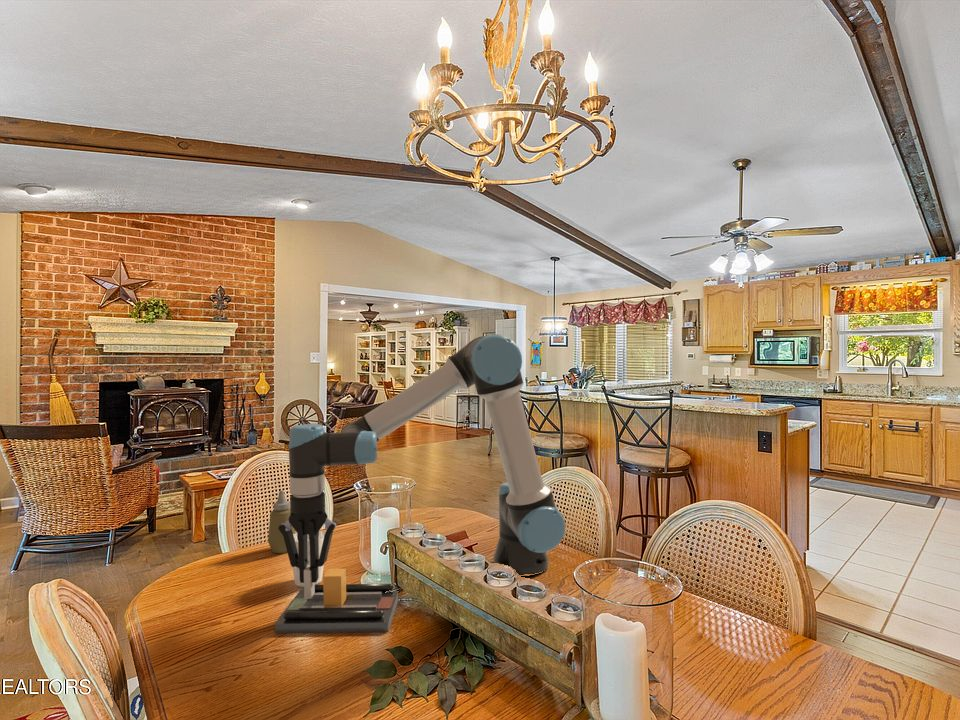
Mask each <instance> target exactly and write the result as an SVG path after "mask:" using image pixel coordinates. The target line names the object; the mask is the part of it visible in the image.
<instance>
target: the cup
mask: <svg viewBox="0 0 960 720" xmlns="http://www.w3.org/2000/svg"><path fill="white" fill-rule="evenodd" d="M325 533H326V531H324V530H321V529H320V530H319V536H318V540H319V558H320V553H321V549H322V544H323V540H324V535H325ZM293 536H294V539H295V543H296V547H297V551H298V539H297V532H296V533H295V534H293ZM307 551H308V561H309V562H308V564H307V565H310V540H309V535H307ZM298 555H299V554H298ZM324 566H325V564H324V565H323V566H319V567H318V574H319V578H318V580H317V581H316V582H315V585H319V583H321V582H322V581H323V576H324V575H323V573H324ZM291 568H292V573H293V579H294V584H295V586H298V587H300V588H304V583H301V582H300V570H299V568H298V567H292V566H291Z"/></svg>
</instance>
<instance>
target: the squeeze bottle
mask: <svg viewBox="0 0 960 720" xmlns="http://www.w3.org/2000/svg"><path fill="white" fill-rule="evenodd" d="M290 514H291V512H290V500H287V498H286V494H285V492H284V490H279V491H278V497H277V501H276V502H274V503H273V510H272V511H270V513H269V525H268V526H269V527H268V537H267V543H268V545H269V548H270V550H271V552H272V553H274V554H285V553H287V549H286V545H285V541H284V537H283V535H282V534H281V532H280V531H279V529H278V527H279V526H280V525H281V524H282V523H283V522H286V521H288V519H289V516H290ZM291 526H292V525H291ZM292 532H293V534H295V533H297V532H296V531H295V529H294V528H293V527H292Z"/></svg>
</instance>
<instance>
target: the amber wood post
mask: <svg viewBox="0 0 960 720" xmlns="http://www.w3.org/2000/svg"><path fill="white" fill-rule="evenodd" d="M322 581H323V582H322V583H323V584H322V585H323V591H324V606H330V605H343V604H344V602H345V600H346V584H347V568H328V569H327V570H326V571H325V573H324V575H322Z"/></svg>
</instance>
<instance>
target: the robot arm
mask: <svg viewBox="0 0 960 720" xmlns="http://www.w3.org/2000/svg"><path fill="white" fill-rule="evenodd" d="M522 366H523V355H522V352H521V350H520V348H519V346H518V345H517V343H516V342H514V341H513V340H512V339H510V338H509V337H507V336H505V335H501V334H495V333H492V334H487V335H484V336H478V337H476V338H474V339H472V340H470V341H469V342H468V343H467V344H465V346H463V347H462V348H461V349H459V350H458V351H457V352H455V353H454V354H452V355H450V356H449V357H448V358H446V362H445V364H444V365H443V366H440V367H439V368H437V369H436V370H434V371H433V372H431V373H429V374H428V375H426V376H425V377H423V378H421V379H419V380H418V381H417V382H415V383H413V384H412V385H410V386H408V387H407V388H406V389H404V390H402V391H401V392H399V393H397V394H396V395H395V396H393V397H391V398H390V399H388V400H386V401H385V402H383V403H382V404H380V405H378V406H377V407H375V408H374V409H372V410H370V411H369V412H368V413H366V414H364V415H363V416H362V417H359V418H358V419H356V420H355V421H353V422H350V423H347V424H346V425H345V426H343V427H342V429H341V430H340V432H325V428H324V426H323V424H320V423H318V424H317V423H304V424H298V425H294V426H292V427H291V428H290V430H289V438H288V439H289V442H288V457H289V458H288V461H289V466H288V467H289V494H290V496H289V502H290V512H291V514H290V516H289V519H288V521H286V522H283V523H282V524H281V525H280V526H279V527H278V529H279V531H280V532H281V534H282V535H283V537H284V541H285V545H286V549H287V552H286V553H287V556H288V559H289V564H290V566H291V568H292V567H298V568H299V570H300V582H301V583H304V587H303V588H304V599H311V598H312V596H313V595H314V593H315V582H316V581H317V580H318V578H319V574H318V567H319V566H323V565H324V566H325V563H326V562H327V560H328V556H329V551H330V547H331V543H332V539H333V534H334V531H335V529H336V527H337V526H338V522H337V521H336V520H333V521H332V520H331V519H329V517H328V514H327V512H326V493H325V492H324V491H325V488H326V486H325V483H326V481H325V479H326V478H325V467H332V466H334V467H335V466H352V465H354V466H355V465H360V466H361V465H362V466H363V465H367V464H374V463H376V461H377V460H378V441H380V440H381V439H383V438H385V437H387V436H388V435H389V434H391V433H393V432H394V431H396V430H397V429H399V428H400V427H402V426H404V425H405V424H406V423H408V422H410V421H412V420H413V419H415V418H416V417H418V416H419V415H421V414H422V413H424V412H426V411H427V410H429V409H430V408H432V407H433V406H436V404H438V403H440V402H441V401H443V400H445V399H446V398H448V397H449V396H451V395H452V394H454V393H455V392H457V391H459V390H460V389H463V390H467V389H469V388H470V387H472V386H473V385H474V386H475V390H476V393H477V396H478V397H480V398H482V399H483V400H485V403H486V408H487V411H488V414H489V419H490V421H491V426H492V429H493V433H494V437H495V440H496V441H495V442H496V444H497V445H496V446H497V449H498V452H499V455H500V460H501V463H502V467H503V471H504V474H505V475H504V476H505V478H506V482H503V483H501V484H500V486H499V489H498V494H497V495H498V518H499V519H498V520H499V525H498V526H499V527H498V529H499V533H498V534H499V535H498V536H499V537H498V541H497V544H496V547H495V550H494V554H493V559H492V561H493V562H494V563H499V564H504V565H508V566H511V567H512V568H513V569H515V570H516V572H517V573H518V574H519V575H524V574H535V573H539V572H542V571H544V570H546V569H547V570H548V568H549V558H548V557H549V556H548V554H547V552H549V551H552V550H553V549H556V547H557V546H558V545H559V544H560V543H561V541H562V539H563V538H564V536H565V533H566V521H565V518H564V516H563V514H562V513H561V511H560V510H558V509H557V506H556V502H555V499H554V494H553V490H552V487H550V485H548V484H546V483H545V482H544V481H543V477H542V473H541V468H540V466H539V462H538V457H537V454H536V451H535V447H534V446H535V445H534V442H533V439H532V438H533V437H532V435H531V432H530V427H529V423H528V420H527V416H526V412H525V408H524V404H523V401H522V397H521V393H520V390H521V389H522V387H523V385H524V380H523V376H522V372H521V369H522ZM291 525H292V526H291ZM323 526H324V530H325V535H324V540H323V544H322V549H321V553H320V558H319V540H318V536H319V530H321V529H322V528H323ZM292 527H293V528H294V529H295V531H296V533H297V539H298V551H297V547H296V543H295V539H294V536H293V532H292ZM307 535H309V540H310V565H307V564H308V562H309V561H308V551H307ZM298 554H299V555H298ZM493 562H492V563H493ZM547 567H548V568H547ZM547 570H546V571H547Z"/></svg>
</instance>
